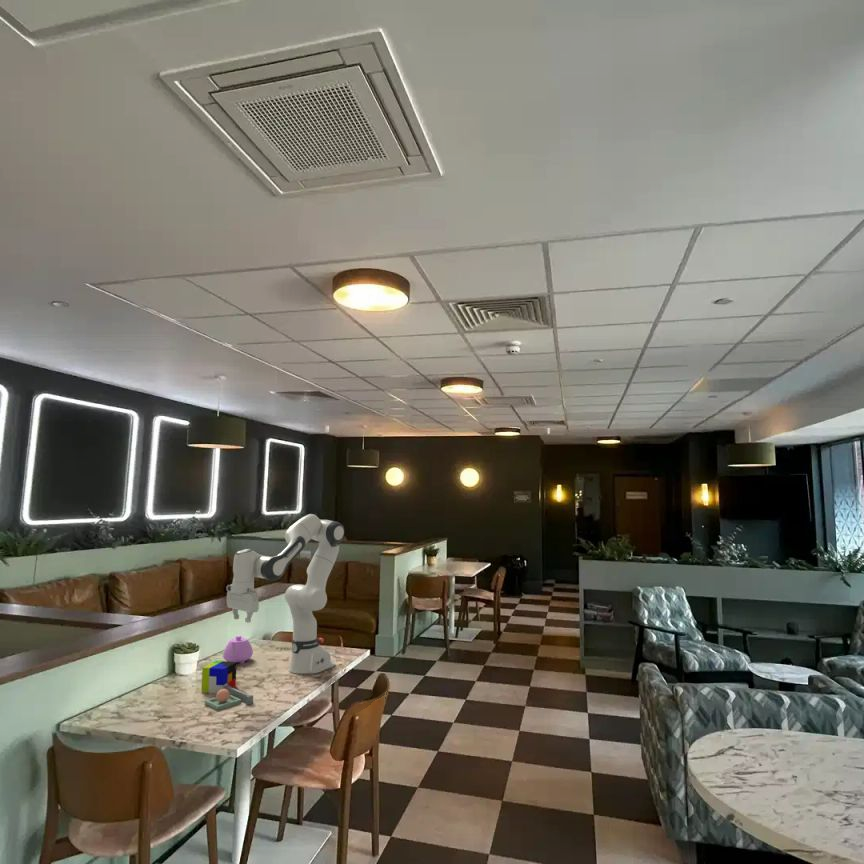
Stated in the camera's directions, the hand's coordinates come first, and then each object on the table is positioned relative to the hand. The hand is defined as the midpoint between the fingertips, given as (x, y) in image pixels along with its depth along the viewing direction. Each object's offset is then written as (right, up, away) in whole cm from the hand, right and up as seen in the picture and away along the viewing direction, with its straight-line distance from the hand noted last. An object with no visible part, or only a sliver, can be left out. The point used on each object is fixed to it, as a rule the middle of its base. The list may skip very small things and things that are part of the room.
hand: (242, 620), depth 241 cm
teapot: (-16, -34, +39) cm, 54 cm away
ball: (-2, -24, -17) cm, 30 cm away
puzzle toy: (-10, -30, 0) cm, 31 cm away
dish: (-2, -27, -17) cm, 32 cm away
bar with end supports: (+2, -28, -11) cm, 30 cm away
